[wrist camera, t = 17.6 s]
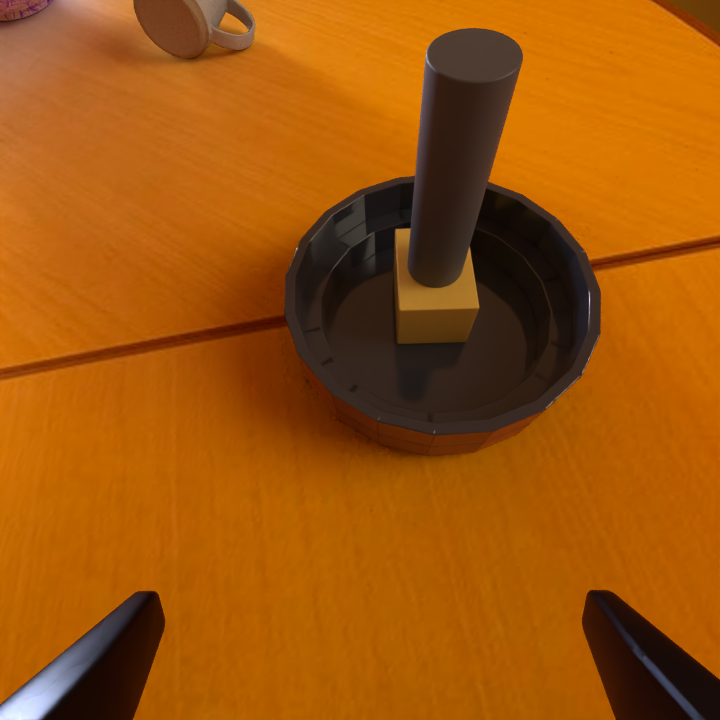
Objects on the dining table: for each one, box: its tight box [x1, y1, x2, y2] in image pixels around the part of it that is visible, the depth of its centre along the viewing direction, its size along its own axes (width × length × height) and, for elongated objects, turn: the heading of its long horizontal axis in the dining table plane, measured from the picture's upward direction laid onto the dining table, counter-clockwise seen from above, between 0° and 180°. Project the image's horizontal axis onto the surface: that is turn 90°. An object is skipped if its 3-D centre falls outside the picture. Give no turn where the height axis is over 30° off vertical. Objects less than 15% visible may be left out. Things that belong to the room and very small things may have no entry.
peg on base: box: [393, 28, 523, 344], centre depth 20 cm, size 6×4×15 cm
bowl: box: [284, 176, 601, 456], centre depth 24 cm, size 17×17×5 cm
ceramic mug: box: [133, 0, 255, 58], centre depth 40 cm, size 11×8×8 cm
